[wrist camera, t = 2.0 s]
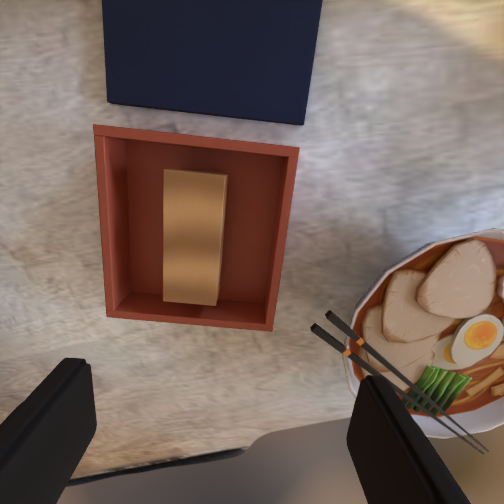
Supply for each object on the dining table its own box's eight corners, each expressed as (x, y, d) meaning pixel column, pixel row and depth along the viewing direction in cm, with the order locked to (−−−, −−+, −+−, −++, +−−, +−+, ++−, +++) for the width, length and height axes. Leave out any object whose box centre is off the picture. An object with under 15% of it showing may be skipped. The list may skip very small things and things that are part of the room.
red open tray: (119, 130, 27) (92, 124, 22) (291, 149, 27) (299, 147, 23) (126, 294, 32) (106, 317, 28) (269, 307, 33) (272, 331, 28)
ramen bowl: (564, 307, 33) (661, 353, 25) (408, 417, 38) (448, 483, 30) (436, 156, 27) (510, 155, 20) (276, 308, 33) (284, 355, 25)
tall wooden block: (178, 167, 27) (163, 169, 22) (229, 172, 27) (225, 175, 23) (176, 279, 31) (162, 301, 26) (221, 283, 31) (215, 306, 26)
